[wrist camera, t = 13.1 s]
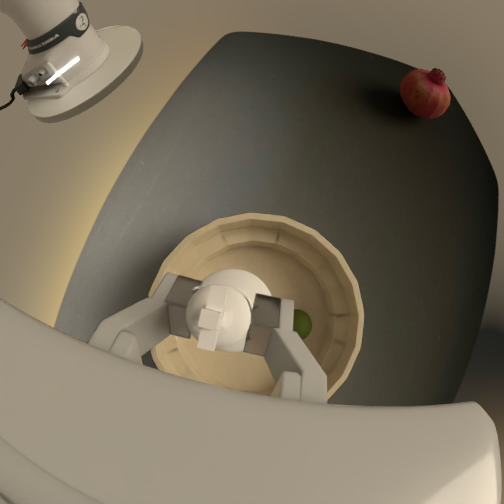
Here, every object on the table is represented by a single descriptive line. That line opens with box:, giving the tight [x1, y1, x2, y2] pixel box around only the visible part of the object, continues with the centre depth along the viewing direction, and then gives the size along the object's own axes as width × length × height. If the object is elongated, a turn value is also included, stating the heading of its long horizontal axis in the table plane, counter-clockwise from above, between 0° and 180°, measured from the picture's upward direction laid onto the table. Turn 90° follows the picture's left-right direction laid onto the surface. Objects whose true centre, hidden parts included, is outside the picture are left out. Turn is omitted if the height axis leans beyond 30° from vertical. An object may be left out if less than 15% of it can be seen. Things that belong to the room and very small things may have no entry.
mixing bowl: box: [148, 213, 364, 400], centre depth 26 cm, size 19×19×6 cm
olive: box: [293, 309, 312, 340], centre depth 27 cm, size 3×3×3 cm
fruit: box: [400, 68, 450, 119], centre depth 30 cm, size 8×8×10 cm
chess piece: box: [186, 268, 272, 352], centre depth 11 cm, size 5×5×10 cm
